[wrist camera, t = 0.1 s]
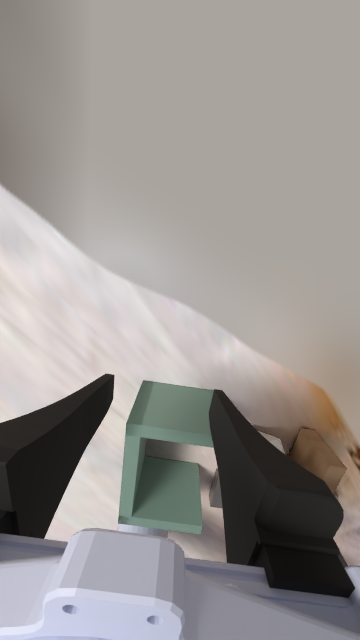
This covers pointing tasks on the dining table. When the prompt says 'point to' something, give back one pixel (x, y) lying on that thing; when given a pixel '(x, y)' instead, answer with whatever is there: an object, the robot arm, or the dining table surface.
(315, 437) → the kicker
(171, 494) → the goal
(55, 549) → the robot arm
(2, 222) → the dining table surface
